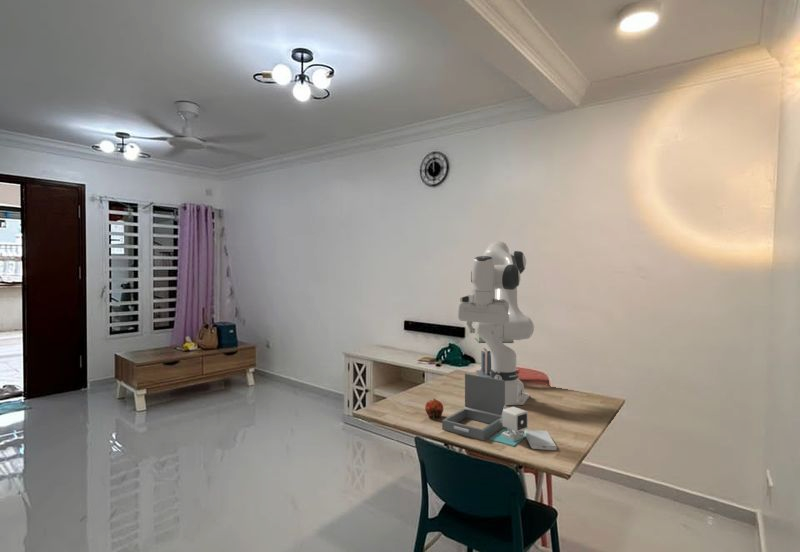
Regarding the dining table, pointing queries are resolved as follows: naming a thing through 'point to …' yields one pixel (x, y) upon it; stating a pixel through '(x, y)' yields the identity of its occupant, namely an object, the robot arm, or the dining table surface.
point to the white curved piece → (486, 357)
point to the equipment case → (479, 407)
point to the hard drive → (540, 440)
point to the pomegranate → (434, 408)
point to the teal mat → (503, 440)
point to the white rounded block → (514, 423)
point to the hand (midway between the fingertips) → (483, 334)
